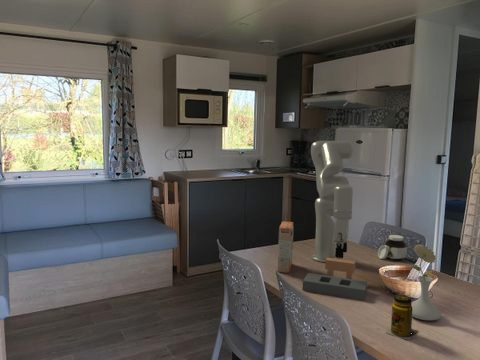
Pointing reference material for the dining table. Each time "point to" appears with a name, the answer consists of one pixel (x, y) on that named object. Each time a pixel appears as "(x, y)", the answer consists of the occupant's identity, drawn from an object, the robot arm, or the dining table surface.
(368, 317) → the dining table surface
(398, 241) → the spread jar
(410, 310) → the condiment
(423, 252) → the flower in vase
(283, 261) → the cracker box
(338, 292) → the gray socket block
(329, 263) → the clip
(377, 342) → the dining table surface
